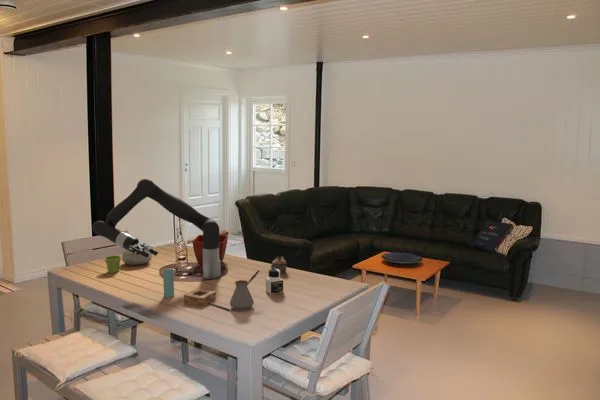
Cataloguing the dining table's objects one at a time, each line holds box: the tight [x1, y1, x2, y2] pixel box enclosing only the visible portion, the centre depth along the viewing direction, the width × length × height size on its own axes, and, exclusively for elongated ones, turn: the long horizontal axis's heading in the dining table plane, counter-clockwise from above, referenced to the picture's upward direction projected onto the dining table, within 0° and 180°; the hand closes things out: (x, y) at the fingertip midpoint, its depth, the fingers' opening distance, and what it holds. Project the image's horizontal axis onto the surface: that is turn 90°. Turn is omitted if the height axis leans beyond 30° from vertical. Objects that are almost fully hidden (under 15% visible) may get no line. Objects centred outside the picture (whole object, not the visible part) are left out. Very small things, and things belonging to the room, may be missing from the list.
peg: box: [162, 267, 175, 298], centre depth 250 cm, size 4×4×14 cm
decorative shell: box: [121, 249, 153, 266], centre depth 309 cm, size 18×18×10 cm
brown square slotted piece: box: [183, 288, 217, 307], centre depth 244 cm, size 11×11×4 cm
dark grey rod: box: [208, 302, 230, 312], centre depth 236 cm, size 14×1×1 cm, turn 51°
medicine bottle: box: [265, 268, 284, 295], centre depth 258 cm, size 7×7×12 cm
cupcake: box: [270, 256, 288, 276], centre depth 291 cm, size 10×10×10 cm
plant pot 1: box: [104, 255, 122, 274], centre depth 292 cm, size 9×9×9 cm
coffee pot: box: [229, 269, 262, 312], centre depth 238 cm, size 21×12×15 cm, turn 151°
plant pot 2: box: [192, 234, 229, 268], centre depth 309 cm, size 19×19×17 cm
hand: (152, 254), depth 253 cm, fingers open, 8 cm apart
